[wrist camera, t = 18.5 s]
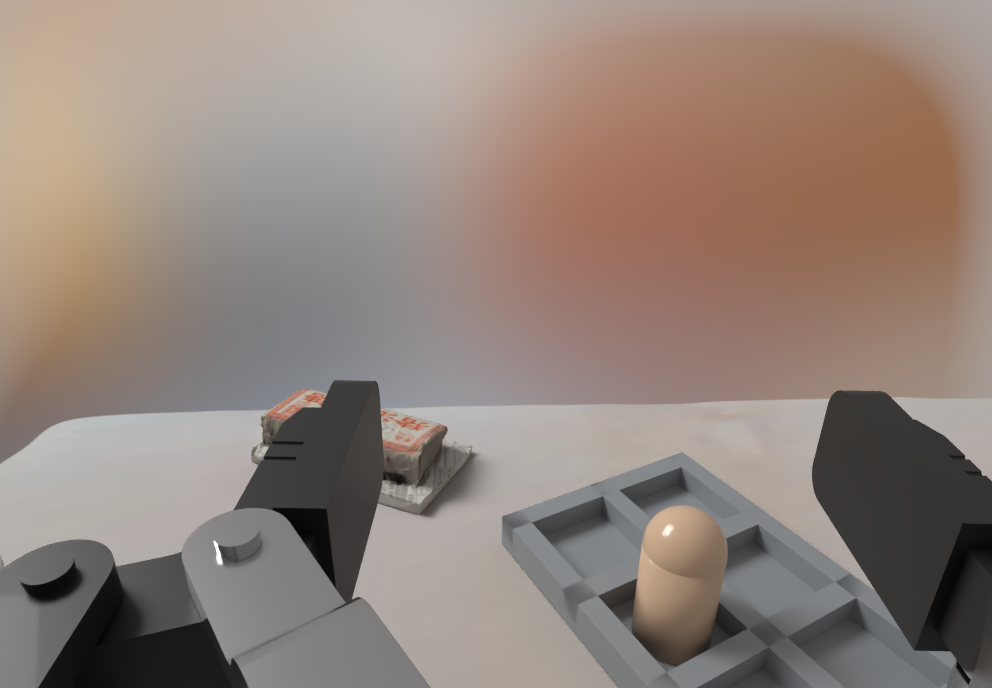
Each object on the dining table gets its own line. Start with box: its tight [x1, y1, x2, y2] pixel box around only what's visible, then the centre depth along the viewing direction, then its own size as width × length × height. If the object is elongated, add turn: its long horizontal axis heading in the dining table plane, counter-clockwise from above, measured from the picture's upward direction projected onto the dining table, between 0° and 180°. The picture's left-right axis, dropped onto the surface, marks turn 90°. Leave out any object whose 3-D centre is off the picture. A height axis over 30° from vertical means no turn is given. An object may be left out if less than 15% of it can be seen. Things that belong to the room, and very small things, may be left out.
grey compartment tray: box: [502, 452, 956, 688], centre depth 46 cm, size 26×18×3 cm
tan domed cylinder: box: [631, 505, 728, 665], centre depth 42 cm, size 5×5×10 cm
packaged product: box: [251, 390, 472, 514], centre depth 62 cm, size 18×5×10 cm
